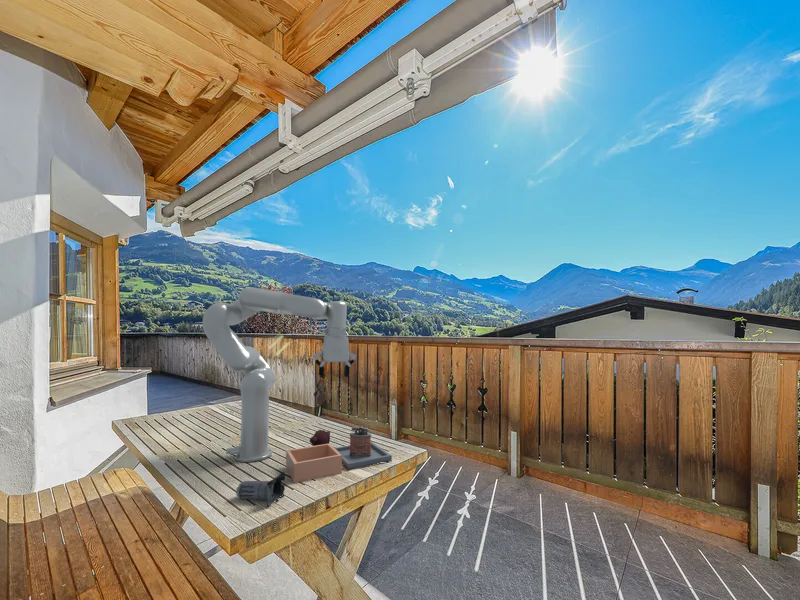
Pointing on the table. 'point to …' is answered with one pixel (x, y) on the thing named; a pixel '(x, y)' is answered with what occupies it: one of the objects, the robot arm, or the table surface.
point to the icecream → (320, 438)
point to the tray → (359, 462)
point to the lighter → (360, 442)
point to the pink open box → (313, 462)
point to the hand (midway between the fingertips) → (334, 376)
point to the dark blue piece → (262, 489)
